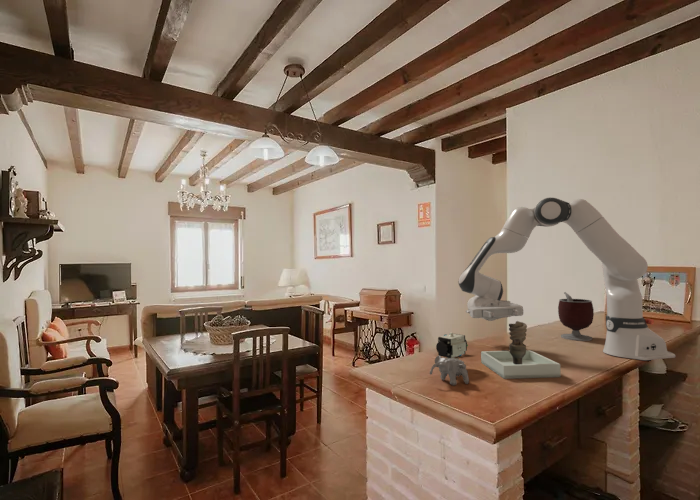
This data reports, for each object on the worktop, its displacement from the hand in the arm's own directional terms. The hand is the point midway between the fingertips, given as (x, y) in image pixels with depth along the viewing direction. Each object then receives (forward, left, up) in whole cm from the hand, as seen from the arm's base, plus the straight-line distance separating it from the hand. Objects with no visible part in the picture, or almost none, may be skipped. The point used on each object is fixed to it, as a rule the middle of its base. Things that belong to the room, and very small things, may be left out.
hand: (504, 314), depth 143 cm
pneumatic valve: (+24, +12, -16) cm, 31 cm away
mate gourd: (-46, -30, -16) cm, 58 cm away
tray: (+3, +15, -16) cm, 22 cm away
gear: (+18, -6, -16) cm, 25 cm away
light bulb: (+2, +15, -15) cm, 21 cm away
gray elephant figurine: (+29, +26, -16) cm, 43 cm away
